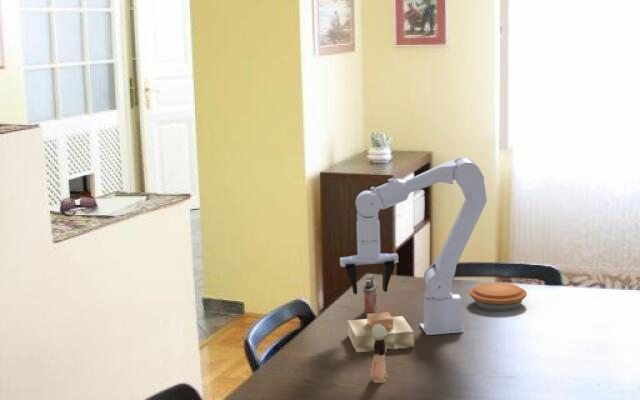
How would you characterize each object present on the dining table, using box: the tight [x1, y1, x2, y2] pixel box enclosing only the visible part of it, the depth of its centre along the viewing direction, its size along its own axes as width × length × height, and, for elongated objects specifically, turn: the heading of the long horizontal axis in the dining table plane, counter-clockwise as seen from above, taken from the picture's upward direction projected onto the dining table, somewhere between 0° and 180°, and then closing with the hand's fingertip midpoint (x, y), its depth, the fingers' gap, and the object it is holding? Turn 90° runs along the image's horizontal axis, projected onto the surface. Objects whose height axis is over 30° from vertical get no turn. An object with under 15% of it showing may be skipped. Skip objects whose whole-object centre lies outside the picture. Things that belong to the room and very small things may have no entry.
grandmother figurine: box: [370, 324, 388, 384], centre depth 195 cm, size 8×4×13 cm, turn 174°
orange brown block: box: [366, 311, 393, 331], centre depth 219 cm, size 5×5×6 cm
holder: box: [347, 315, 415, 353], centre depth 220 cm, size 14×12×4 cm
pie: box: [468, 282, 528, 312], centre depth 245 cm, size 15×16×5 cm
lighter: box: [362, 273, 378, 318], centre depth 242 cm, size 8×3×10 cm, turn 168°
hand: (370, 291), depth 226 cm, fingers open, 7 cm apart
